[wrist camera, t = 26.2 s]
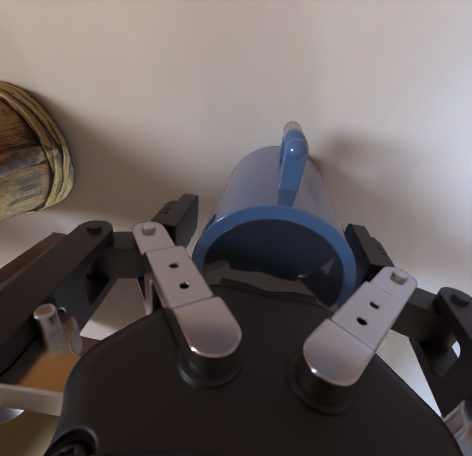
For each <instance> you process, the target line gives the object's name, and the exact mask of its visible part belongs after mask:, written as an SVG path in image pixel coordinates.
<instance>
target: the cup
mask: <svg viewBox="0 0 472 456" xmlns="http://www.w3.org/2000/svg"><path fill="white" fill-rule="evenodd" d="M308 154H309V146H308V143H307V141H306V138H305V136H304V133H303V131H302V128H301V126H300V124H299V123H298V122H295V121H290V122H288V123H287V124H286V125H285V126H284V129H283V137H282V142H281V146H272V147H265V148H262V149H259V150H256V151H254V152H252V153H251V154H249V155H247V156H246V157H245V158H244V159H242V160H241V162H240V163H239V164H238V165H237V166H236V168H235V169H234V171H233V173H232V175H231V177H230V179H229V181H228V183H227V185H226V187H225V189H224V191H223V193H222V195H221V197H220V199H219V201H218V202H217V204H216V206H215V208H214V210H213V212H212V214H211V216H210V218H209V220H208V222H207V224H206V226H205V228H204V230H203V232H202V234H201V236H200V238H199V240H198V242H197V244H196V246H195V248H194V251H193V254H192V261H193V262H194V264H195V265H196V267H197V269H198V270H199V272H200V273H201V275H202V276H203V278H204V280H205V281H206V283H207V284H208V285H213V284H219V283H220V280H221V278H225V279H230V280H235V281H240V282H245V283H247V284H250V285H253V286H255V287H258V288H260V289H263V290H265V291H270V292H296V293H301V294H306V295H311V296H316V299H317V304H319V305H321V306H323V307H325V308H327V309H329V310H330V311H332V312H333V313H335V312H336V311H337V310H338V309H339V308H340V307H341V306H342V305H343V304H344V303H345V302H346V301H347V300H348V299H349V298H350V297H351V296H352V294H353V292H354V289H355V285H356V280H357V267H356V261H355V258H354V255H353V252H352V249H351V247H350V245H349V242H348V240H347V237H346V235H345V232H344V230H343V227H342V225H341V223H340V220H339V218H338V215H337V213H336V210H335V208H334V206H333V203H332V201H331V198H330V196H329V193H328V191H327V188H326V186H325V184H324V181H323V179H322V176H321V174H320V172H319V170H318V168H317V167H316V165H315V164H314V163H313V162H312V161H311V160H310V159H309V158H308V157H307V156H308Z"/></svg>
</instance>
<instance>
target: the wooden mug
mask: <svg viewBox="0 0 472 456" xmlns="http://www.w3.org/2000/svg"><path fill="white" fill-rule="evenodd" d="M73 177H74V169H73V166H72V163H71V155H70V153H69V150H68V148H67V145H66V142H65V138H64V136H63V134H62V133H61V131H60V129H59V128H58V126H57V125H56V123H55V121H54V120H53V119H52V118H51V116H50V115H49V114H48V113H47V112H46V111H45V109H44V108H43V107H42V106H41V105H40V104H39V103H38V102H37V101H35V100H34V99H33V98H32V97H31V96H29V95H28V94H27V93H26V92H25V91H23V90H22V89H20V88H17V87H15V86H12V85H10V84H7V83H4V82H2V81H0V221H1V220H4V219H7V218H10V217H13V216H15V215H18V214H21V213H34V212H37V211H39V210H42V209H45V208H47V207H50V206H52V205H55V204H57V203H58V202H59V201H61V200H62V199H64V198H65V197H66V196H67V195H68V193H69V191H70V190H71V188H72V187H73Z"/></svg>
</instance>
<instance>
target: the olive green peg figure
mask: <svg viewBox="0 0 472 456" xmlns="http://www.w3.org/2000/svg"><path fill="white" fill-rule="evenodd" d="M59 418H60V416H57V415H51V414H44V413H38V412H32V411H25V410H24V411H23V412H22V413H21V414H20V415H18V416H17V417H15V418H14V419H12V420H10V421H8V422H6V423H3V424H0V456H43V455H44V453H45V452H46V450H47V448H48V447H49V445H50V443H51V440H52V438H53V435H54V433H55V430H56V428H57V425H58V422H59Z"/></svg>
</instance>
